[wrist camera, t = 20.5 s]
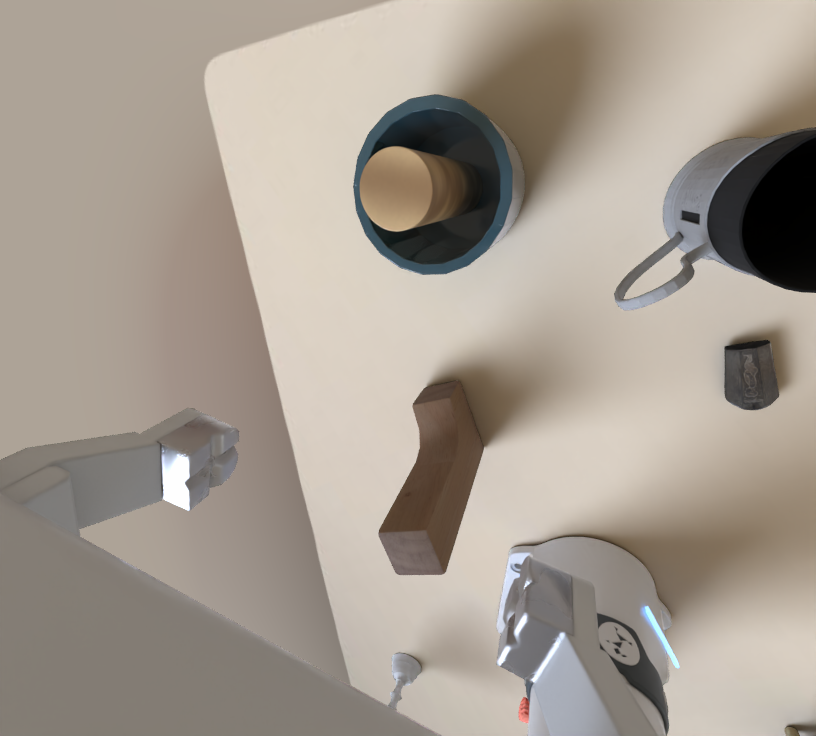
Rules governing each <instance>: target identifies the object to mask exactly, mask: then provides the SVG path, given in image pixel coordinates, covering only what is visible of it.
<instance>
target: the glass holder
mask: <svg viewBox="0 0 816 736" xmlns="http://www.w3.org/2000/svg"><path fill="white" fill-rule="evenodd" d="M663 221H664V226H665V229H666V231H667V234H668V236H669V237H670V240H669V241H668V242H667V243H665V244H664V245H663V246H662V247H660V248H659V249H658V250H657V251H655V252H654V253H653V254H651V255H650V256H649V257H648V258H646V259H645V260H644V261H643V262H641V263H640V264H639V265H638V266H637V267H635V268H634V269H633V270H632V271H631V272H629V273H628V274H627V275H626V277H625V278H624V279H623V280H622V281H621V283H620V284H619V285H618V287H617V288H616V291H615V293H614V295H615V301H616V303H617V305H618V306H619V307H620V308H621V309H623V310H634V309H638V308H642V307H645V306H647V305H650V304H652V303H655V302H657V301H659V300H661V299H664V298H666V297H668V296H669V295H671V294H673V293H674V292H676V291H678V290H679V289H680V288H682V287H683V286H684V285H686V284H687V283H688V282H689V281H690V280H691V279H692V278H693V275H694V269H693V267H692V265H691V264H692V263H694V262H695V261H697V260H699V259H700V258H702V259H708V260H716V261H718V262H720V263H722V264H724V265H726V266H728V267H730V268H732V269H734V270H736V271H739V272H742V273H744V274H748V275H753V276H756V277H758V278H761V279H763V280H765V281H767V282H769V283H771V284H773V285H776V286H779V287H782V288H784V289H787V290H793V291H798V292H809V293H816V127H815V128H807V129H801V130H796V131H792V132H787V133H783V134H779V135H775V136H771V137H767V138H763V139H760V138H751V137H749V138H736V139H732V140H727V141H724V142H721V143H718V144H716V145H713V146H711V147H709V148H708V149H706V150H704V151H702V152H701V153H699V154H698V155H696V156H695V157H694V158H692V159H691V160H690V161H689V162H688V163H687V164H686V165H685V166H684V167H683V168H682V169H681V170H680V171H679V173H678V174H677V175H676V177H675V178H674V180H673V181H672V183H671V185H670V187H669V189H668V192H667V194H666V197H665V201H664V206H663ZM675 247H678V248H679V249H681V250H682V251H684V252H686V253H687V254H686V255H684V256H683V257H682V258H681V260H680V261H681V264H682V266H683V269H682V271H681V272H680V273H679V274H678V275H677V276H675V277H674V278H673V279H671V280H670V281H668V282H667V283H665V284H663V285H662V286H660V287H658V288H656V289H654V290H652V291H650V292H648V293H645V294H643V295H640V296H638V297H635V298H631V299H625V300H623V298H624V296H625V293H626V292H627V290H628V289H629V288H630V286H631V285H632V284H633V283H634V282H635V281H636V280H637V279H638V278H639V277H640V276H641V275H642V274H643V273H644V272H646V271H647V270H648V269H649V268H650V267H652V266H653V265H654V264H655V263H657V262H658V261H659V260H661V259H662V258H663V257H664V256H666V255H667V254H668V253H669V252H671V251H672V250H673V249H674V248H675Z"/></svg>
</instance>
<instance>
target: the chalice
mask: <svg viewBox="0 0 816 736" xmlns="http://www.w3.org/2000/svg"><path fill="white" fill-rule="evenodd" d="M420 673H421V666H420V664H419V663H418V662H417V661H416V660H415V659H414V658H413V657H411V656H409V655H407V654H403V653H397V654H394V655H393V656H392V674H393V677H394V679H395V680H396V688H395V689H394V691H393V692H391V693H390V694H391V702H390V704H389V705H388V706H389V707H390V708H392V709H394V710H396V705H397V702H398V701H399V700H401V699H402V698H401V689H402V687H403V686H405V685H409V684H411V683H412V682H413V681H414V679H416V678H417V675H419V674H420ZM396 711H397V710H396Z"/></svg>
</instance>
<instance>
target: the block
mask: <svg viewBox="0 0 816 736" xmlns="http://www.w3.org/2000/svg"><path fill="white" fill-rule="evenodd" d="M724 388H725V391H724V392H725V397H726V400H727V401H728V402H730V403H731V404H733V405H735V406H737V407H739V408H741V409H745V410H758V409H763V408H765V407H767V406H769V405H771V404H772V403H773V402H774V401H775V400H776V399H777V398H778V397H779V392H778V385H777V379H776V373H775V367H774V361H773V354H772V349H771V343H770V341H768V340H764V341H756V342H748V343H742V344H736V345H730V346H725V387H724Z"/></svg>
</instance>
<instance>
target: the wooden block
mask: <svg viewBox="0 0 816 736" xmlns="http://www.w3.org/2000/svg"><path fill="white" fill-rule="evenodd" d="M413 410H414V413H415V417H416V420H417V423H418V427H419V433H420V449H419V453H418V457H417V460H416V463H415V465H414V467H413V469H412V470H411V472H410V474H409V476H408V478H407V480H406V481H405V483H404V485H403V487H402V489H401V491H400V493H399V494H398V496H397V498H396V500H395V502H394V504H393V505H392V507H391V509H390V511H389V513H388V515H387V517H386V518H385V520H384V522H383V524H382V526H381V528H380V529H379V538H380V540H381V542H382V544H383V546H384V548H385V551H386V553H387V555H388V557H389V559H390V561H391V564H392V566H393V568H394V570H395V572H396V573H397V574H398V575H442V574H444V573H445V572H446V569H447V566H448V563H449V559H450V556H451V553H452V550H453V547H454V543H455V540H456V537H457V534H458V531H459V527H460V524H461V521H462V518H463V514H464V511H465V508H466V505H467V502H468V498H469V495H470V492H471V489H472V485H473V482H474V479H475V476H476V473H477V469H478V466H479V463H480V460H481V457H482V453H483V450H484V448H483V445H482V442H481V439H480V436H479V434H478V431H477V428H476V425H475V422H474V420H473V417H472V414H471V411H470V408H469V405H468V403H467V400H466V397H465V394H464V391H463V389H462V386H461V383H460V382H459V381H453V382H449V383H444V384H440V385H435V386H431V387H426V388H424V389H423V390H422V392H421V393H420V395H419V396H418V398H417V399H416V400H415V402H414V403H413Z"/></svg>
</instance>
